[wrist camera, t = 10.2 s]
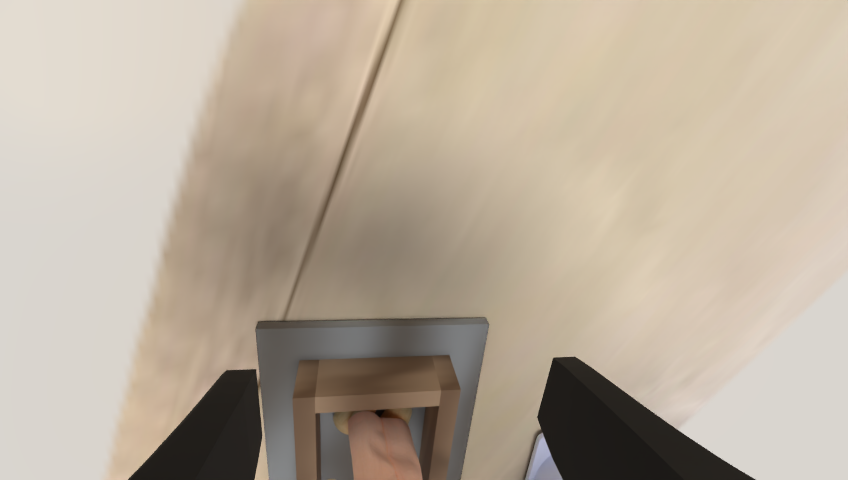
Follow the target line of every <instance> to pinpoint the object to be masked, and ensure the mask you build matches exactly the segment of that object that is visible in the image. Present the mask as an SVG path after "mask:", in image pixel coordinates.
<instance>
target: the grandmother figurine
mask: <svg viewBox="0 0 848 480" xmlns="http://www.w3.org/2000/svg"><path fill="white" fill-rule="evenodd" d="M375 412H376V410H364V411H348V412H335V413H334V416H333V421H334V424H335V426H336V427H337V429H338V430H339V431H340V432H342V433H344V434H347V435H349V442H350V450H351V456H352V465H353V475H354V480H423V478H422V473H421V467H420V463H419V460H418V457H417V454H416V450H415V447H414V443H413V440H412V436H411V432H410V429H409V426H408V424H409V421H410V418H411V415H412V408H398V409H386V410H385V411H384V412H383V413H382V415H381V416H380V417H379V416H378V415H377V414H375ZM327 480H336V479H327Z"/></svg>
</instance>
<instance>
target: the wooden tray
mask: <svg viewBox="0 0 848 480" xmlns="http://www.w3.org/2000/svg"><path fill="white" fill-rule="evenodd" d="M488 328H489V323H488V321H487V319H486V318H450V319H395V320H340V321H284V322H258V324H257V327H256V339H257V351H258V362H259V373H260V384H261V395H262V406H263V417H264V428H265V439H266V451H267V462H268V473H269V480H327V479H336V480H354V475H353V465H352V456H351V450H350V442H349V435H347V434H344V433H342V432H340V431H339V430H338V429H337V427H336V426H335V424H334V421H333V416H334V413H335V412H348V411H364V410H376V412H375V414H377V415H378V416H379V417H380V416H381V415H382V413H383V412H384V411H385V410H386V409H398V408H412V415H411V418H410V421H409V424H408V426H409V429H410V432H411V436H412V440H413V443H414V447H415V450H416V454H417V457H418V460H419V463H420V467H421V473H422V478H423V480H460V479H461V474H462V468H463V463H464V458H465V452H466V447H467V441H468V436H469V431H470V425H471V420H472V414H473V409H474V404H475V398H476V393H477V387H478V382H479V377H480V371H481V366H482V360H483V355H484V350H485V344H486V339H487V333H488Z"/></svg>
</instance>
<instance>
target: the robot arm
mask: <svg viewBox="0 0 848 480" xmlns="http://www.w3.org/2000/svg"><path fill="white" fill-rule="evenodd" d="M537 418H538V421H539V424H540V427H541V429H542V433H540V434H539V435H538V437H537V439H536V442H535V446H534V450H533V453H532V457H531V460H530V464H529V468H528V471H527V475H526V478H525V480H755V479H753V478H752V477H750V476H749V475H747V474H745V473H743V472H742V471H740V470H738V469H737V468H735V467H733V466H732V465H730V464H728V463H727V462H725V461H724V460H722V459H721V458H719V457H717V456H716V455H714V454H713V453H711V452H710V451H708V450H707V449H705V448H704V447H702V446H701V445H699V444H698V443H696V442H695V441H693V440H692V439H690V438H689V437H687V436H686V435H684V434H683V433H681V432H680V431H678V430H677V429H675V428H674V427H673V426H671V425H670V424H668V423H667V422H665V421H664V420H663V419H661V418H660V417H658V416H657V415H655V414H654V413H653V412H651V411H650V410H649V409H647V408H646V407H644V406H643V405H642V404H640V403H639V402H637V401H636V400H635V399H633V398H632V397H631V396H629V395H628V394H627V393H625V392H624V391H622V390H621V389H620V388H618V387H617V386H616V385H614V384H613V383H612V382H610V381H609V380H608V379H606V378H605V377H603V376H602V375H601V374H599V373H598V372H597V371H595V370H594V369H592V368H591V367H590V366H588V365H587V364H585V363H584V362H582V361H581V360H579V359H578V358H576V357H558V358H553V361H552V365H551V368H550V372H549V376H548V379H547V383H546V387H545V390H544V394H543V398H542V402H541V405H540V409H539V413H538V416H537ZM261 440H262V428H261V418H260V407H259V396H258V386H257V375H256V369H250V370H227V371H226V372H224V373H223V374H222V375H221V376H220V377H219V379H218V380H217V381H216V382H215V383H214V385H213V386H212V387H211V388H210V389H209V391H208V392H207V393H206V394H205V395H204V397H203V398H202V399H201V400H200V401H199V402H198V404H197V405H196V406H195V407H194V408H193V409H192V411H191V412H190V413H189V414H188V415H187V416H186V418H185V419H184V420H183V421H182V422H181V423H180V424H179V425H178V427H177V428H176V429H175V430H174V431H173V432H172V433H171V434H170V435H169V436H168V438H167V439H166V440H165V441H164V442H163V443H162V444H161V445H160V446H159V447H158V449H157V450H156V451H155V452H154V453H153V454H152V455H151V456H150V457H149V458H148V459H147V460H146V461H145V463H144V464H143V465H142V466H141V467H140V468H139V469H138V470H137V471H136V472H135V473H134V474H133V475H132V476H131V477H130V478H129V479H128V480H254V479H255V473H256V468H257V463H258V457H259V452H260V446H261Z"/></svg>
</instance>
